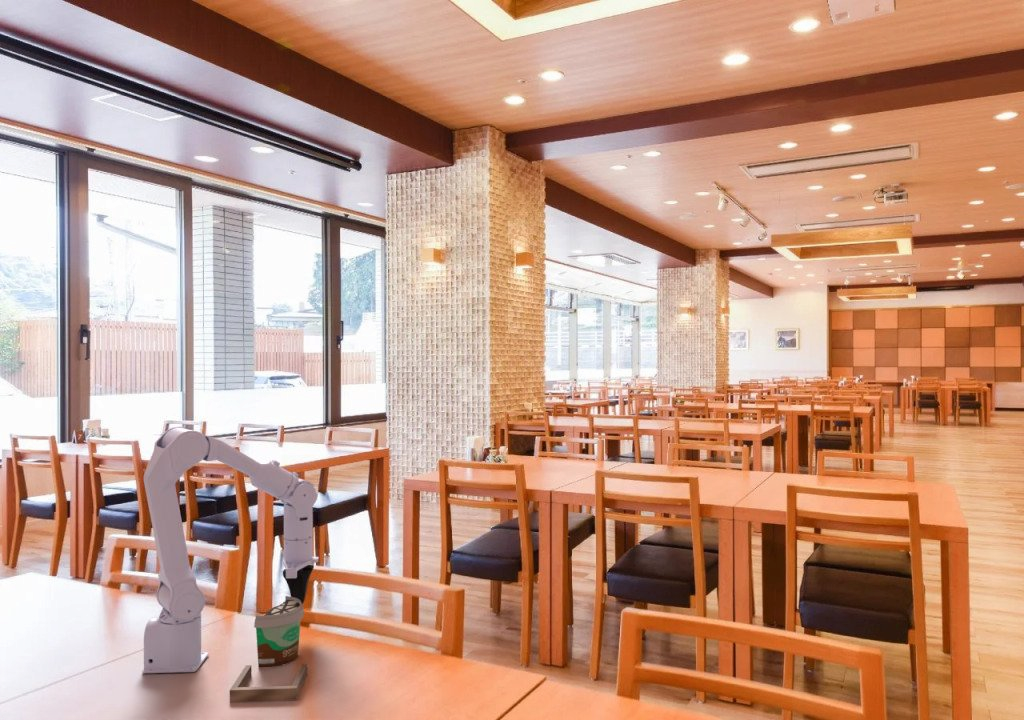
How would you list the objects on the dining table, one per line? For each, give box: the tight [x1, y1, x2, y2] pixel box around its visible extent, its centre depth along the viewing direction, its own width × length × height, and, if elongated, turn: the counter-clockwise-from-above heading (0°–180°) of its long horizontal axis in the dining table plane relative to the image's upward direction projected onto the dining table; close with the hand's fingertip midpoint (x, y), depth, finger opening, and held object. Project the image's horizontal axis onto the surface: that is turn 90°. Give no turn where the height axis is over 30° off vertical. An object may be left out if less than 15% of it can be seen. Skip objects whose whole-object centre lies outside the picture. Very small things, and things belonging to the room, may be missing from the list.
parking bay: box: [229, 663, 309, 703], centre depth 132 cm, size 11×10×2 cm
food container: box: [253, 595, 305, 669], centre depth 145 cm, size 12×6×10 cm, turn 168°
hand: (298, 602), depth 156 cm, fingers closed
